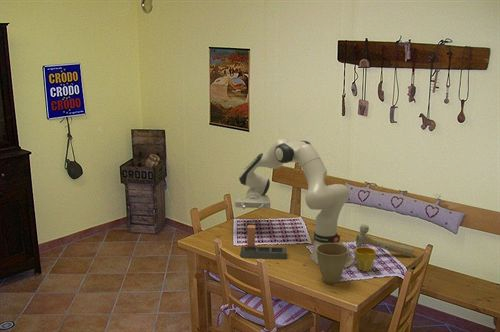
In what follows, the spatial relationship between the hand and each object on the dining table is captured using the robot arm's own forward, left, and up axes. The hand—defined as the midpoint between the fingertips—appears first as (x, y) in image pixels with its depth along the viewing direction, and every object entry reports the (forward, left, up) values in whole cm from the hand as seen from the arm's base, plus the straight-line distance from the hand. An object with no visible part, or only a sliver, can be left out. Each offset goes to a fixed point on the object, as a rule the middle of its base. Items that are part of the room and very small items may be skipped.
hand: (252, 207), depth 304 cm
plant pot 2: (-67, +6, -19) cm, 70 cm away
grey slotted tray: (-16, +17, -18) cm, 30 cm away
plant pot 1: (-57, +26, -19) cm, 66 cm away
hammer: (-71, -16, -19) cm, 75 cm away
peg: (-6, +11, -18) cm, 22 cm away
